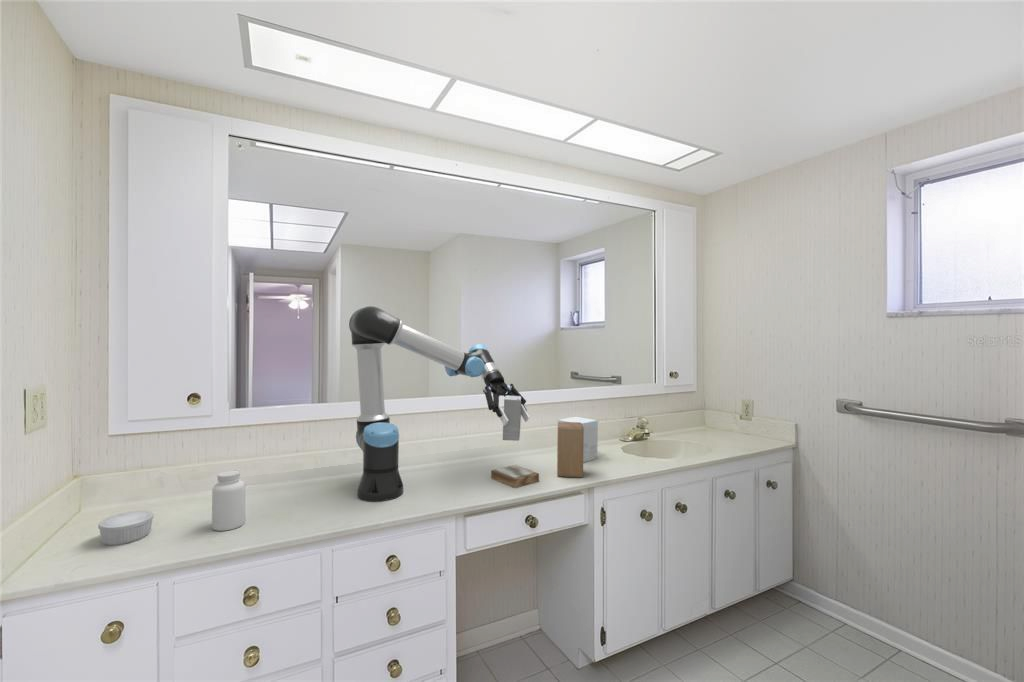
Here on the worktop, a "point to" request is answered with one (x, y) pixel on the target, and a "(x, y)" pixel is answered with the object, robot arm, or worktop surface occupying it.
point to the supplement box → (587, 436)
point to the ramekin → (125, 527)
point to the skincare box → (512, 418)
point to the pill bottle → (228, 501)
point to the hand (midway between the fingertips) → (517, 421)
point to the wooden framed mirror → (514, 476)
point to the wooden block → (570, 449)
